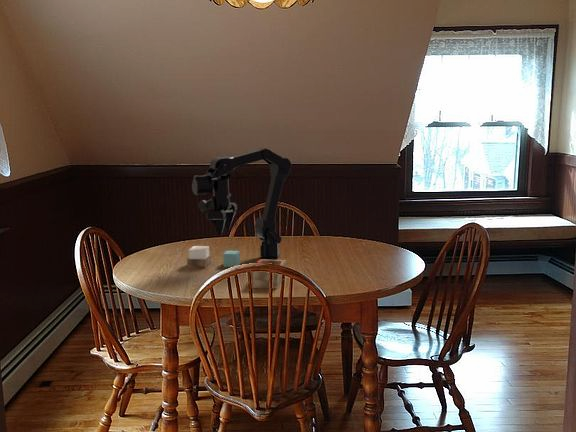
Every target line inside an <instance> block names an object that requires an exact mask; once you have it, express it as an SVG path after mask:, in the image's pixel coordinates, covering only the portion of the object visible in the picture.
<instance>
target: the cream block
mask: <svg viewBox="0 0 576 432" xmlns="http://www.w3.org/2000/svg"><path fill="white" fill-rule="evenodd" d="M209 255H210V246H209V245H207V246H206V245H193V246H192V247H190V248H189V249H188V258H189V259H206V258H207V257H208V256H209Z"/></svg>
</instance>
